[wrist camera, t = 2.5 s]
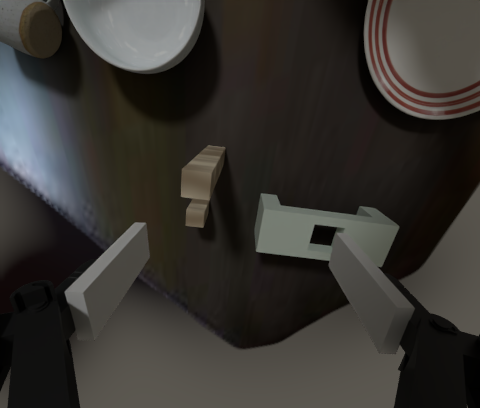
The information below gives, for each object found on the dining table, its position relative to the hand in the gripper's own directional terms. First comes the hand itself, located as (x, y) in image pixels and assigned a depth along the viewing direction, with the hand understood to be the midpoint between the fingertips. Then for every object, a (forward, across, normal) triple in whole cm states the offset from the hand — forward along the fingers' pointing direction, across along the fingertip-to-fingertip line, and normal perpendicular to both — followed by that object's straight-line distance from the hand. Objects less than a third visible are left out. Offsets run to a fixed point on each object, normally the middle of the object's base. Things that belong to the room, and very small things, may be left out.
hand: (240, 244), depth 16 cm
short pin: (+27, -7, -8) cm, 29 cm away
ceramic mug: (+27, -31, +21) cm, 46 cm away
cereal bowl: (+27, -14, +22) cm, 37 cm away
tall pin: (+27, -5, +2) cm, 27 cm away
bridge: (+27, +15, -10) cm, 32 cm away
